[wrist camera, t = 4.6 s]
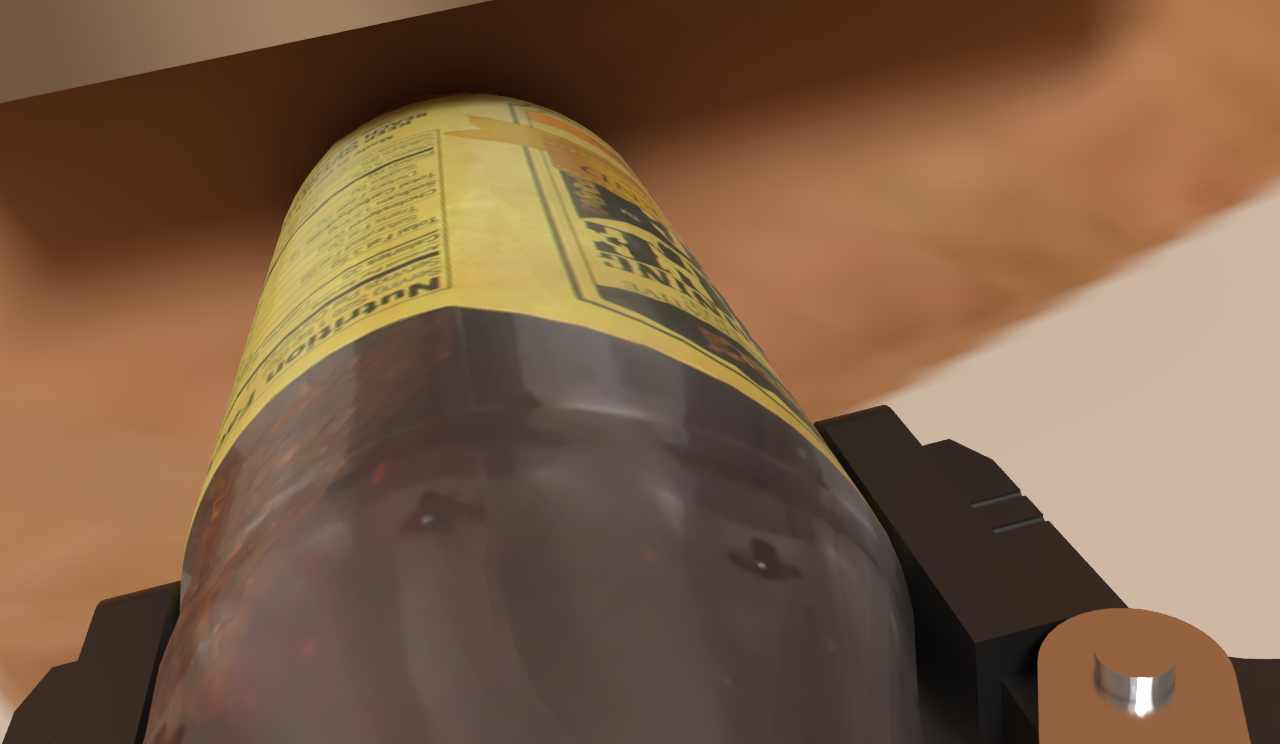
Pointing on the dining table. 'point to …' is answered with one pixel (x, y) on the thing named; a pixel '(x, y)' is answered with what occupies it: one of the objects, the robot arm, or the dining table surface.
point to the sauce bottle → (519, 477)
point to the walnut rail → (164, 34)
